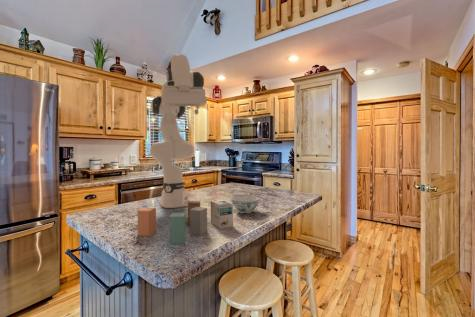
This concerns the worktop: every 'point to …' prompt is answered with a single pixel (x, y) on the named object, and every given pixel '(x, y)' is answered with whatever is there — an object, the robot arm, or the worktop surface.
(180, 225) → the muted teal block
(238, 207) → the chinaware
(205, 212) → the slate-grey block
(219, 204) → the light bulb box
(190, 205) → the walnut block
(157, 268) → the worktop surface
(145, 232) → the terracotta block
